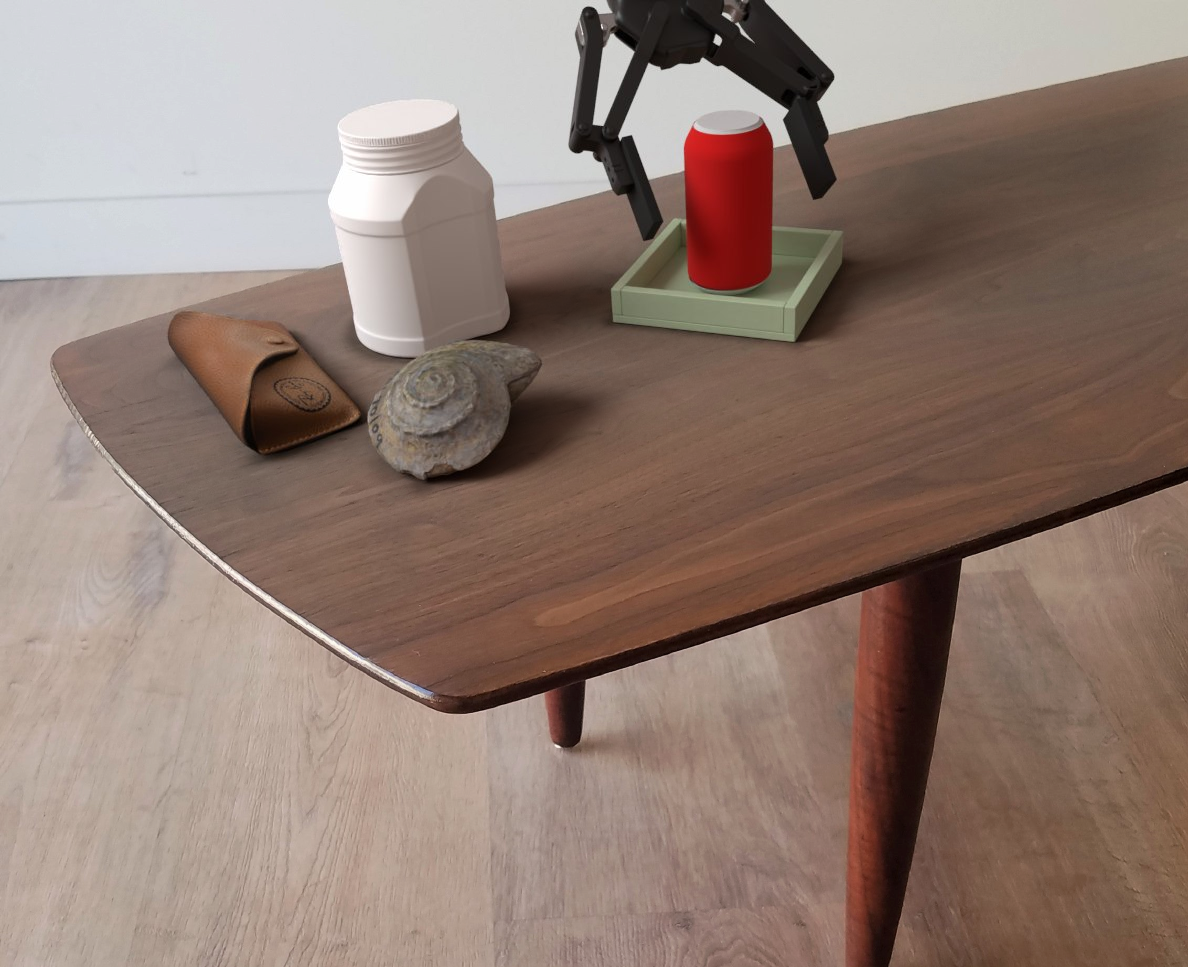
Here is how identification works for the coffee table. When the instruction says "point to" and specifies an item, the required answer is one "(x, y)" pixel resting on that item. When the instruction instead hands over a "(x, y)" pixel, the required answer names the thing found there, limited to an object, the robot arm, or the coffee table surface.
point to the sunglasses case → (260, 380)
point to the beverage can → (729, 202)
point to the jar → (416, 229)
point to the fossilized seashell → (449, 406)
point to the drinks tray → (766, 311)
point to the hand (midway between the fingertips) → (741, 211)
